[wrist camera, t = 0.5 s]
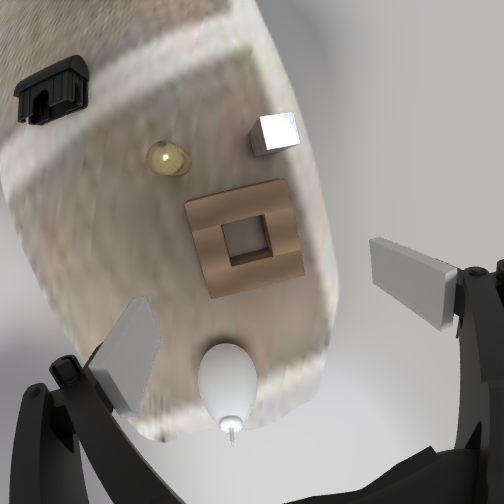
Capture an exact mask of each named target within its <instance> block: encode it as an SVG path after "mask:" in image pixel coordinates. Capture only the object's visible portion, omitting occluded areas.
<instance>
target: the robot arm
mask: <svg viewBox="0 0 504 504" xmlns="http://www.w3.org/2000/svg"><path fill="white" fill-rule="evenodd" d="M369 243H370V252H371V263H372V276H373V283H374V284H375V285H377V286H378V287H380V288H381V289H383V290H384V291H385V292H387V293H388V294H390V295H391V296H393V297H394V298H395V299H397V300H398V301H400V302H401V303H402V304H404V305H405V306H406V307H408V308H409V309H411V310H412V311H413V312H415V313H416V314H418V315H419V316H420V317H422V318H423V319H425V320H426V321H427V322H429V323H430V324H431V325H432V326H434V327H435V328H436V329H438V330H439V331H443V330H445V329H447V328H448V327H450V326H452V324H453V316H454V313H455V314H456V315H458V316H459V323H458V328H457V335H456V338H458V337H459V342H460V406H459V419H458V430H457V437H456V443H455V447H454V449H452V450H446V451H442V452H438V453H436V452H435V451H434V450H433V448H432V447H431V446H429V447H427V448H426V449H424V450H422V451H420V452H419V453H417V454H415V455H413V456H411V457H409V458H408V459H406V460H404V461H402V462H400V463H398V464H396V465H395V466H394V467H393V468H391V469H390V470H388V471H387V472H386V473H384V474H383V475H382V476H380V477H379V478H378V479H376V480H375V481H373V482H372V483H370V484H369V485H367V486H366V487H364V488H363V489H360V490H357V491H352V492H345V493H338V494H330V495H321V496H312V497H308V498H305V499H301V500H297V501H293V502H289V503H284V504H504V259H503V260H500V261H498V262H497V269H496V272H493V273H489V272H488V271H487V270H486V269H485V268H481V267H469V268H466V269H465V270H461V269H459V268H457V267H454V266H452V265H449V264H447V263H444V262H443V261H440V260H438V259H435V258H432V257H430V256H427V255H425V254H422V253H420V252H417V251H415V250H412V249H410V248H407V247H405V246H402V245H399V244H397V243H394V242H392V241H389V240H387V239H384V238H381V237H378V238H374V239H370V240H369ZM161 338H162V337H161V335H160V332H159V330H158V327H157V325H156V322H155V320H154V317H153V315H152V312H151V309H150V307H149V304H148V301H147V298H146V296H141V297H137V298H133V300H132V301H131V303H130V304H129V305H128V307H127V308H126V310H125V311H124V313H123V314H122V315H121V317H120V318H119V320H118V321H117V323H116V324H115V326H114V327H113V329H112V330H111V332H110V333H109V335H108V336H107V338H106V339H105V341H104V342H102V343H101V344H100V345H99V346H98V347H97V348H96V349H95V350H94V352H93V353H92V355H91V356H90V358H89V360H88V361H87V362H86V364H85V366H84V367H83V369H82V367H81V366H80V363H79V362H78V360H77V358H76V357H75V356H74V355H66V356H63V357H60V358H59V359H57V360H56V361H54V362H53V363H52V364H51V366H50V368H49V371H50V373H51V374H52V376H53V378H54V379H55V381H56V383H57V384H58V386H59V387H60V389H58V390H54V391H51V392H50V391H49V390H48V388H47V387H46V385H45V384H44V383H38V384H34V385H31V386H30V387H28V388H27V390H26V391H25V393H24V395H23V398H22V402H21V407H20V412H19V416H18V421H17V427H16V433H15V438H14V446H13V453H12V461H11V473H10V493H9V494H10V497H9V504H89V500H88V496H87V491H86V486H85V481H84V475H83V469H82V462H81V456H80V446H79V440H80V442H81V444H82V446H83V448H84V450H85V453H86V455H87V457H88V459H89V461H90V463H91V465H92V467H93V469H94V470H95V472H96V474H97V476H98V478H99V480H100V481H101V483H102V485H103V487H104V488H105V490H106V492H107V493H108V495H109V497H110V498H111V500H112V501H113V503H114V504H186V503H185V502H184V501H183V500H182V499H181V498H180V497H179V496H178V495H177V494H176V493H175V492H174V491H173V490H172V489H171V488H170V487H169V486H168V485H167V484H166V483H165V482H164V481H163V480H162V478H161V477H160V476H159V475H158V474H157V473H156V472H155V471H154V470H153V468H152V467H151V466H150V465H149V464H148V462H147V461H146V460H145V459H144V458H143V456H142V455H141V454H140V453H139V451H138V450H137V449H136V448H135V446H134V445H133V444H132V443H131V441H130V440H129V438H128V437H127V436H126V434H125V433H124V432H123V431H122V429H121V427H120V426H119V425H118V423H117V422H116V420H115V419H114V417H113V416H112V415H111V414H112V412H113V409H115V410H116V412H117V413H118V415H119V416H120V417H121V418H122V417H123V418H125V417H136V416H137V413H138V409H139V406H140V403H141V399H142V396H143V393H144V390H145V386H146V383H147V380H148V377H149V374H150V371H151V368H152V364H153V361H154V358H155V355H156V352H157V349H158V346H159V344H160V341H161Z"/></svg>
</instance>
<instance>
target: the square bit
mask: <svg viewBox="0 0 504 504" xmlns="http://www.w3.org/2000/svg"><path fill="white" fill-rule="evenodd" d="M249 137H250V142H251V146H252V150H253V154H254V157H258V156H262V155H267V154H273V153H278V152H281V151H283V150H286V149H288V148H291V147H293V146H296V145H298V144H300V141H299V136H298V132H297V128H296V124H295V120H294V116H293V112H289V113H282V114H276V115H269V116H264V117H259V119H258V120H257V122H256V123H255V125H254V126H253V128H252V129H251V131H250V132H249Z"/></svg>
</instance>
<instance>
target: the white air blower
mask: <svg viewBox="0 0 504 504" xmlns="http://www.w3.org/2000/svg"><path fill="white" fill-rule="evenodd" d="M198 385H199V391H200V395H201V399H202V401H203V404H204V406H205V408H206V410H207V411H208V413H209V415H210V416H211V417H212V419H213V420H214V421H215V422H216V423H217V424H219V426H220V429H221V430H222V431H223V432H226V433H230V439H231V444H232V445H234V433H235V432H238V431H240V430H241V429H242V427H243V423H244V422H245V421H246V420H247V418H248V417H249V415H250V413H251V411H252V408H253V406H254V403H255V399H256V394H257V376H256V371H255V367H254V364H253V362H252V360H251V358H250V357H249V355H248V354H247V353H246V352H245V351H244V350H243V349H242V348H240V347H238V346H237V345H234V344H228V343H224V344H219V345H216V346H214V347H212V348H211V349H210V350H208V352H207V353H206V354H205V355H204V357H203V359H202V361H201V364H200V368H199V373H198Z"/></svg>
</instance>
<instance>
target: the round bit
mask: <svg viewBox="0 0 504 504" xmlns="http://www.w3.org/2000/svg"><path fill="white" fill-rule="evenodd" d="M147 164H148V166H149V168H150V169H151V170H152V171H153V172H154V173H156V174H160V175H183V174H185V173H186V172H187V171H188V170H189V169H190V166H191V158H190V156H189V155H188V154H187V153H186V152H185V151H183V150H182V149H181V148H179V147H178V146H177V145H175V144H174V143H172V142H170V141H159V142H157V143H155V144H154V145H153V146H152V147H151V148H150V149H149V151H148V154H147Z"/></svg>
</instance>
